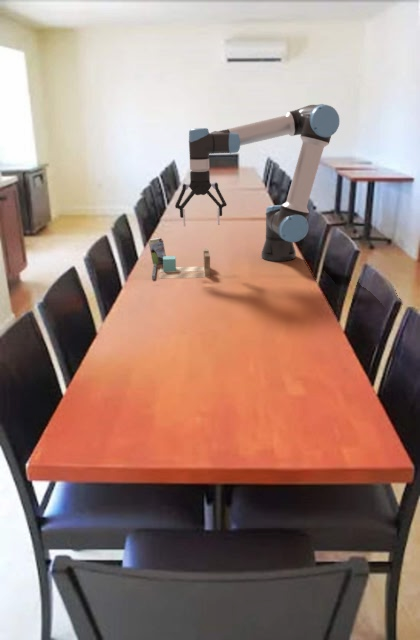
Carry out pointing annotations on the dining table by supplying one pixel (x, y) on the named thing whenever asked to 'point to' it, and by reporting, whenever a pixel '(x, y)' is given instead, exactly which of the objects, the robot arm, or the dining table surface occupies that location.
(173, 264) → the block
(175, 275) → the strip oak
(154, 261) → the beverage can
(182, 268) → the beige long angled piece
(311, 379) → the dining table surface
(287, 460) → the dining table surface
